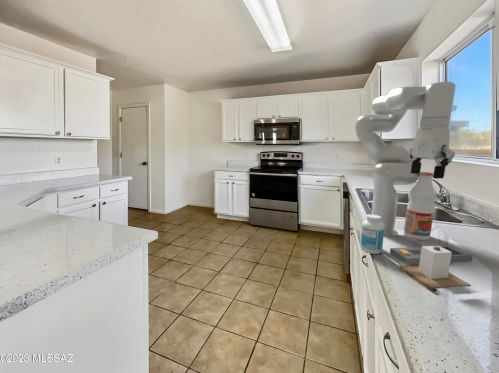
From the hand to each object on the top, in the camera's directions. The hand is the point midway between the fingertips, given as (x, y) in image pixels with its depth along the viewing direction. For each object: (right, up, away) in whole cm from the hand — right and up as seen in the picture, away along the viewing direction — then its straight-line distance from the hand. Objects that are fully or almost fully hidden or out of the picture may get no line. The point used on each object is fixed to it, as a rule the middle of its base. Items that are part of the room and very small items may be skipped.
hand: (426, 175), depth 83 cm
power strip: (+3, -29, +2) cm, 29 cm away
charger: (-5, -30, -9) cm, 32 cm away
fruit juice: (+12, -26, +22) cm, 36 cm away
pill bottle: (-14, -28, +9) cm, 33 cm away
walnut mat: (-5, -31, -9) cm, 33 cm away
